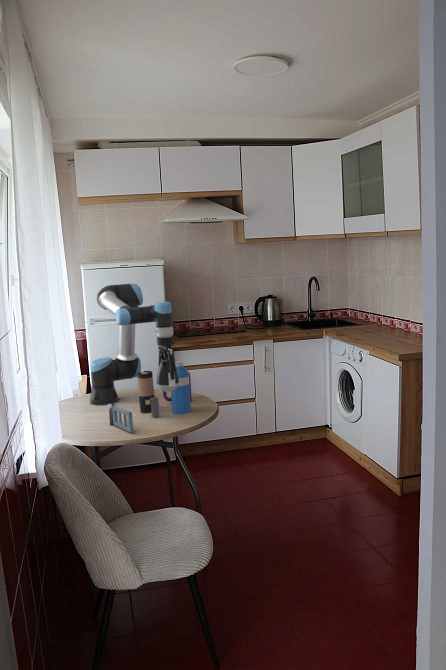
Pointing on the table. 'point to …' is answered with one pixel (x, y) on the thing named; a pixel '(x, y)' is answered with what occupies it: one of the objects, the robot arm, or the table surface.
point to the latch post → (154, 406)
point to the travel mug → (145, 390)
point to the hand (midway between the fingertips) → (168, 384)
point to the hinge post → (111, 413)
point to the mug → (171, 397)
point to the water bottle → (181, 391)
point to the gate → (124, 412)
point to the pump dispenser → (165, 377)
